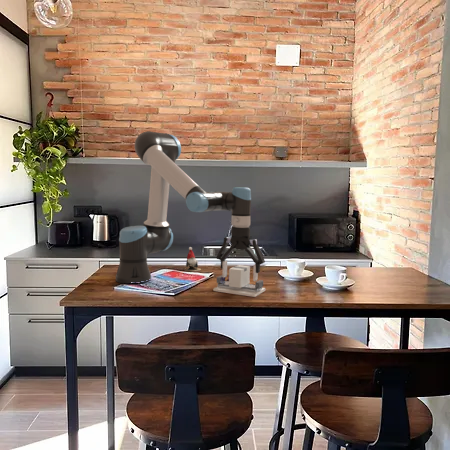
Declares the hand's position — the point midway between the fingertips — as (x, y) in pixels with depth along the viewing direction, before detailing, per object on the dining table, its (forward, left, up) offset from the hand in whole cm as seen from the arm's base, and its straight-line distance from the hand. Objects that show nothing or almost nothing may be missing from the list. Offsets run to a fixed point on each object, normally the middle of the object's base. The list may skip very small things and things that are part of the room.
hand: (239, 278), depth 172 cm
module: (0, 0, -2) cm, 2 cm away
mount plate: (0, 0, -5) cm, 5 cm away
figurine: (-37, +25, -5) cm, 45 cm away
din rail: (0, 0, -5) cm, 5 cm away
